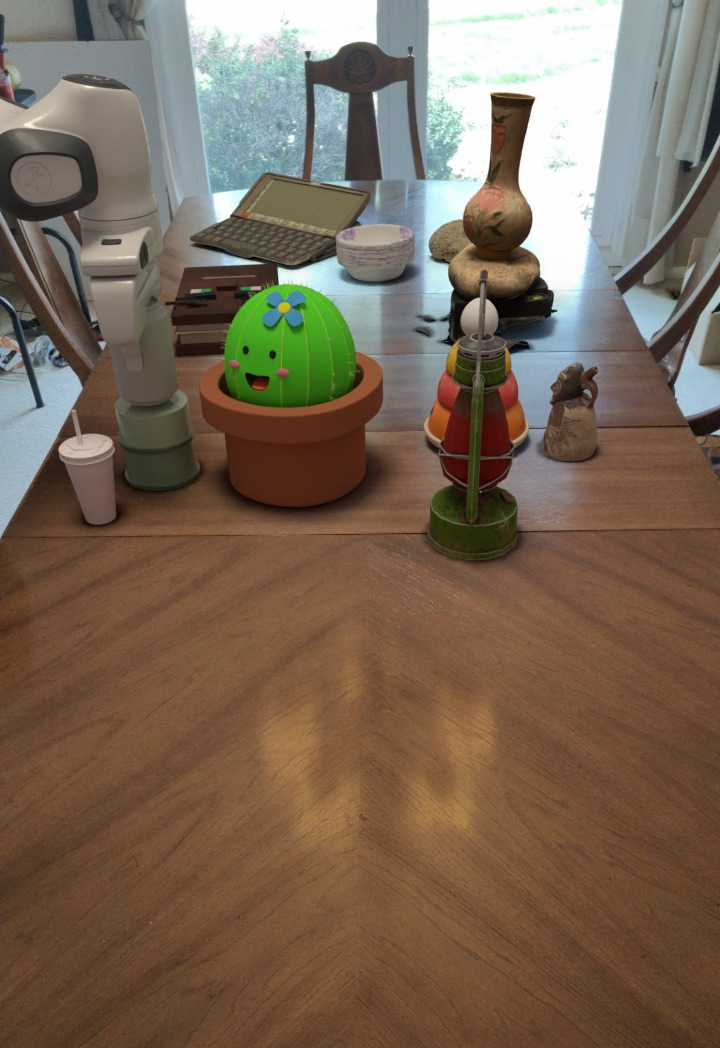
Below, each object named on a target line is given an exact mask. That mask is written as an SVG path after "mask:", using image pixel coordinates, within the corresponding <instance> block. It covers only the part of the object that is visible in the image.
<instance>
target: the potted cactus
mask: <svg viewBox="0 0 720 1048" xmlns="http://www.w3.org/2000/svg"><path fill="white" fill-rule="evenodd" d="M272 282H273V281H272ZM268 284H269V283H268ZM308 286H309V282H306V285H303V284H294V281H293V280H292V279H291V280H287V283H286V282H285V281H283V283H281V284H279V285H276V286H274V284H273V286H272V287H270V285H269V287H268V285H267V289H265V290H263V291H261V292H259V293H257V294H256V295H254V296H253V297H251V296H252V295H253V294H252V295H251V294H249V295H250V297H251V298H250V299H249V300H248V301H247V302H246V303H245V304H244V305H243V306H242V307H241V308H240V310H239V311H238V312H237V314H236V316H235V317H234V319H233V321H232V323H231V325H229V324H228V325H229V326H230V328H229V331H227V333H228V334H227V338H226V341H225V340H223V341H224V342H226V343H225V353H224V354H223V355H224V358H222V357H220V359H219V361H218V362H216V363H215V364H213V365H212V366H211V367H209V368H208V369H207V370H206V371H205V373H203V375H202V376H201V378H200V380H199V384H198V393H199V400H200V407H201V414H202V417H203V419H204V421H205V422H206V423H207V424H208V425H209V426H210V427H212V428H213V429H215V430H216V431H218V432H221V433H222V434H224V442H225V450H226V451H225V452H226V457H227V458H226V459H227V466H228V475H229V480H230V483H231V485H232V487H233V488H234V490H235V491H237V492H238V493H239V494H241V495H242V496H244V497H246V498H247V499H250V500H252V501H255V502H258V503H261V504H265V505H270V506H277V507H284V508H306V507H314V506H315V507H316V506H319V505H324V504H328V503H330V502H333V501H336V500H338V499H341V498H342V497H344V496H346V495H348V494H349V493H350V492H352V491H353V490H354V489H356V487H358V486H359V484H360V483H361V482H362V481H363V479H364V478H365V477H364V476H365V474H366V471H367V469H366V468H367V450H366V447H367V446H366V424H368V423H369V422H370V421H372V420H373V419H374V418H375V417H376V416H377V414H379V412H380V410H381V408H382V406H383V404H384V403H383V402H384V374H383V373H384V372H383V369H382V366H381V365H380V364H379V362H377V361H376V360H375V359H373V358H372V357H371V356H369V355H366V354H364V353H363V352H359V349H357V348H356V346H355V340H356V339H357V338H353V334H352V333H354V331H353V330H352V327H353V326H354V324H352V325H350V326H349V325H348V323H347V321H346V320H345V318H344V315H343V314H342V312H341V311H340V309H338V307H337V305H336V304H335V303H334V302H335V300H337V299H336V297H334V298H330V299H329V298H328V297H327V296H328V293H326V294H323V293H321V292H322V290H323V289H320V290H319V291H318V290H315V288H313V287H308ZM264 288H265V286H264ZM250 292H251V291H250ZM254 294H255V293H254ZM228 325H227V326H228ZM227 328H228V327H227ZM227 330H228V329H227ZM224 332H226V331H224ZM222 333H223V332H222ZM221 348H222V347H221ZM223 348H224V347H223ZM223 348H222V349H223Z"/></svg>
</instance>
